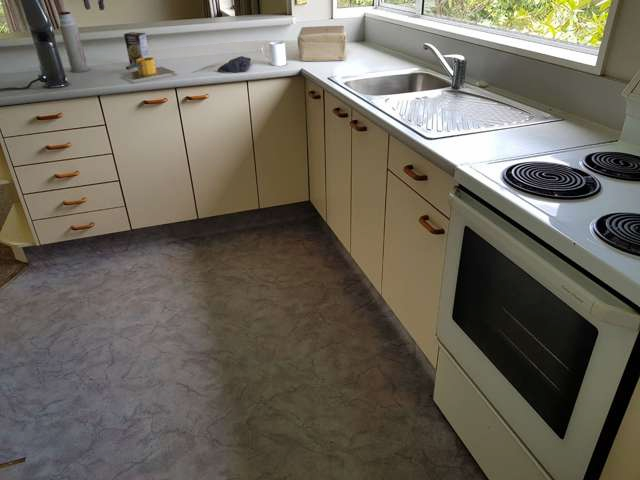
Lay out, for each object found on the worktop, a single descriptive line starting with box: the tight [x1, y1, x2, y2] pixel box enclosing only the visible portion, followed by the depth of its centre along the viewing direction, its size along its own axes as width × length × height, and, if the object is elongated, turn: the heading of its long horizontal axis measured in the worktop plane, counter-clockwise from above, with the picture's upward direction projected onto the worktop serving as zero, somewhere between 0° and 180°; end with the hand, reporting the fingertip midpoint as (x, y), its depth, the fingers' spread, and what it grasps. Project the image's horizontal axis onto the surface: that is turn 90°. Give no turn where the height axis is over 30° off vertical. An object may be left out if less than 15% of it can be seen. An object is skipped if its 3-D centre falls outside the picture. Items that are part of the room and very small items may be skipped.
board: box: [120, 66, 175, 81], centre depth 250 cm, size 22×16×2 cm
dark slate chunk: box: [217, 55, 252, 73], centre depth 260 cm, size 15×22×5 cm
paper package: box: [297, 25, 347, 62], centre depth 275 cm, size 27×26×14 cm
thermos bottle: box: [58, 11, 89, 73], centre depth 257 cm, size 8×8×28 cm
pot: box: [125, 56, 157, 75], centre depth 245 cm, size 17×8×6 cm, turn 157°
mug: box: [260, 41, 287, 67], centre depth 263 cm, size 12×8×10 cm, turn 87°
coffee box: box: [123, 31, 150, 66], centre depth 267 cm, size 9×6×16 cm
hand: (95, 9), depth 238 cm, fingers open, 8 cm apart
